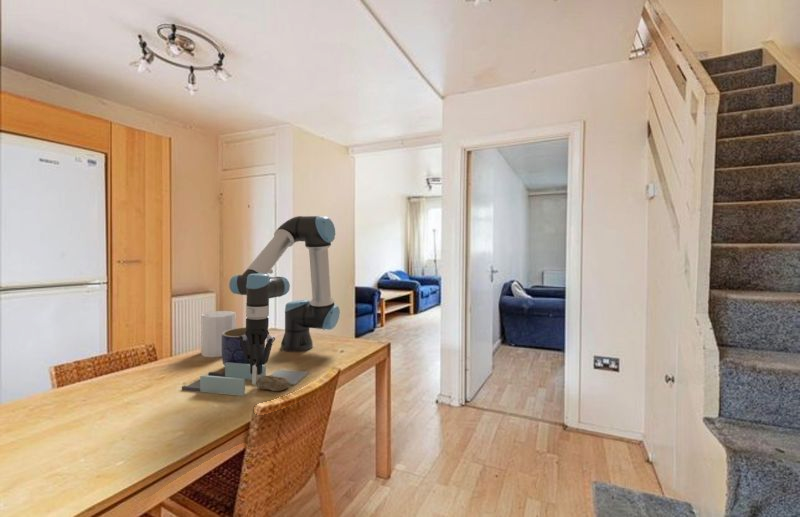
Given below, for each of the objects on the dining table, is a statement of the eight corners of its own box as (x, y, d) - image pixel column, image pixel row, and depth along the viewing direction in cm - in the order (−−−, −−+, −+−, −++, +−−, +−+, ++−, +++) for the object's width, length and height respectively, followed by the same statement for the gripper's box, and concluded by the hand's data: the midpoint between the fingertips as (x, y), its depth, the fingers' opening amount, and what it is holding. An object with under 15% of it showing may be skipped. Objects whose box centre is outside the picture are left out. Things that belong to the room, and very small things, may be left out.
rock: (282, 394, 128) (282, 381, 127) (252, 390, 130) (253, 378, 129) (292, 386, 135) (293, 374, 135) (264, 382, 137) (264, 370, 137)
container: (201, 358, 162) (202, 318, 161) (200, 350, 174) (200, 312, 174) (237, 354, 169) (238, 315, 169) (234, 346, 182) (234, 310, 181)
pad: (278, 370, 150) (278, 369, 150) (308, 373, 148) (308, 371, 148) (261, 382, 137) (261, 381, 137) (294, 385, 135) (294, 384, 135)
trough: (210, 374, 144) (210, 360, 143) (265, 379, 140) (265, 365, 140) (181, 389, 129) (181, 374, 129) (243, 395, 125) (243, 379, 125)
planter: (228, 377, 141) (228, 339, 141) (215, 366, 154) (216, 330, 153) (271, 368, 152) (271, 333, 151) (256, 358, 165) (256, 325, 164)
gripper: (234, 318, 129) (232, 385, 130) (269, 320, 127) (267, 388, 128) (246, 314, 136) (245, 377, 137) (279, 316, 134) (278, 380, 135)
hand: (256, 382), depth 132 cm, fingers closed
